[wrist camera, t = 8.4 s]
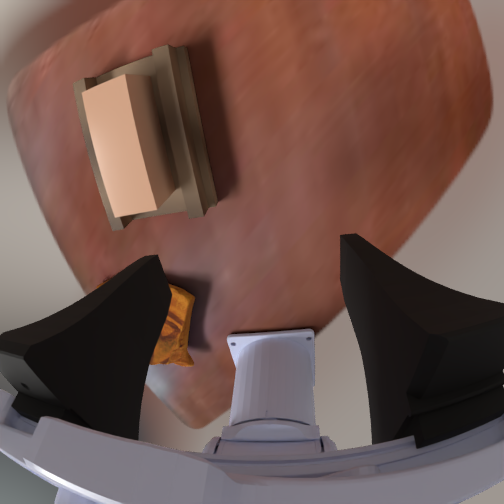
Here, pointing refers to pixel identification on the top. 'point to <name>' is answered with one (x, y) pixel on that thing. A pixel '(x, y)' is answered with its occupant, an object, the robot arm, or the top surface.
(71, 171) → the top surface
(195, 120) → the grey u-channel
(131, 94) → the clay strip
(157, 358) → the pottery fragment
